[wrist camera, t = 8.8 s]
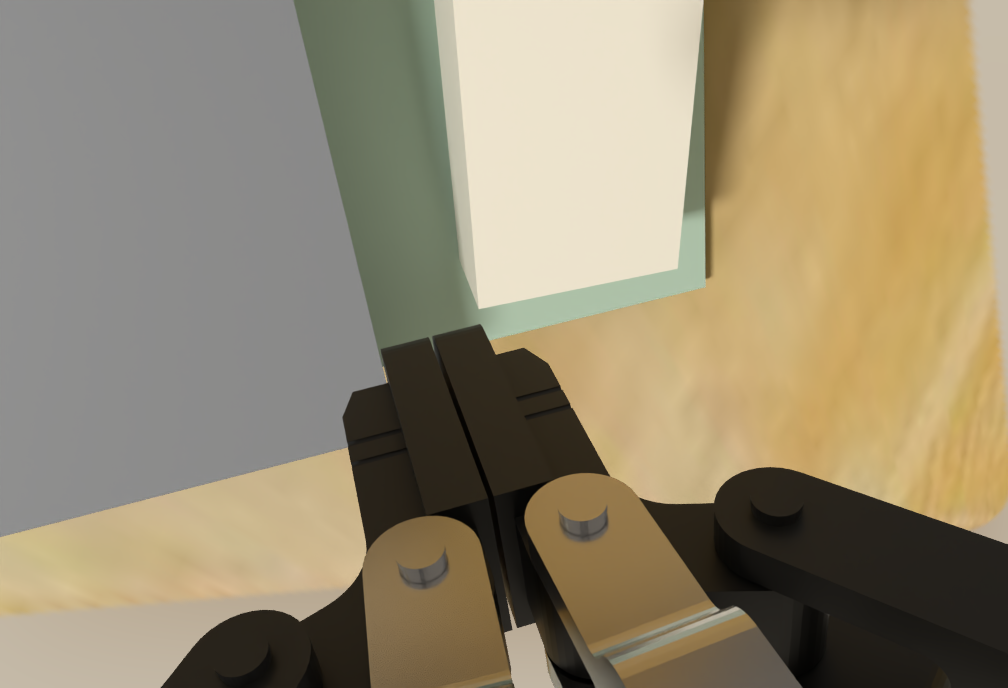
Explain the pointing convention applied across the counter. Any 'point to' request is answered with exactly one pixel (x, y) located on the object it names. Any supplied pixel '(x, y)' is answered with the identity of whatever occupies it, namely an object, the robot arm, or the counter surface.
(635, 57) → the cream rectangular slab
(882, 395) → the counter surface
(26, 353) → the block
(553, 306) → the mat
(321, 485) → the counter surface
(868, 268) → the counter surface
